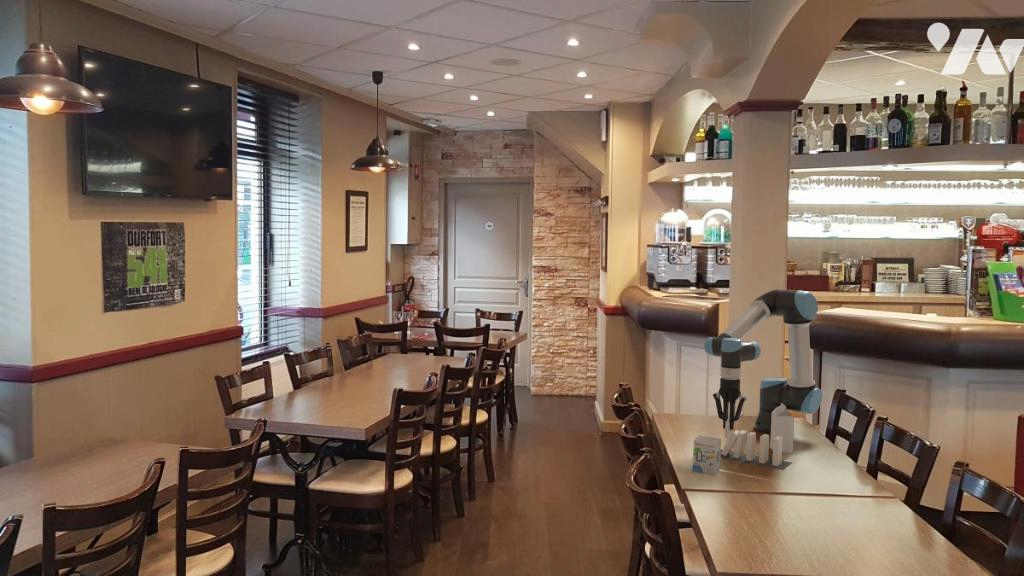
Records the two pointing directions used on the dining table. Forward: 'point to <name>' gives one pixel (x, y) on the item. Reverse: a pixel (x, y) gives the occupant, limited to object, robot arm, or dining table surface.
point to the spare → (730, 443)
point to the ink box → (706, 455)
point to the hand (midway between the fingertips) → (728, 437)
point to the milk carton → (783, 428)
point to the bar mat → (755, 461)
